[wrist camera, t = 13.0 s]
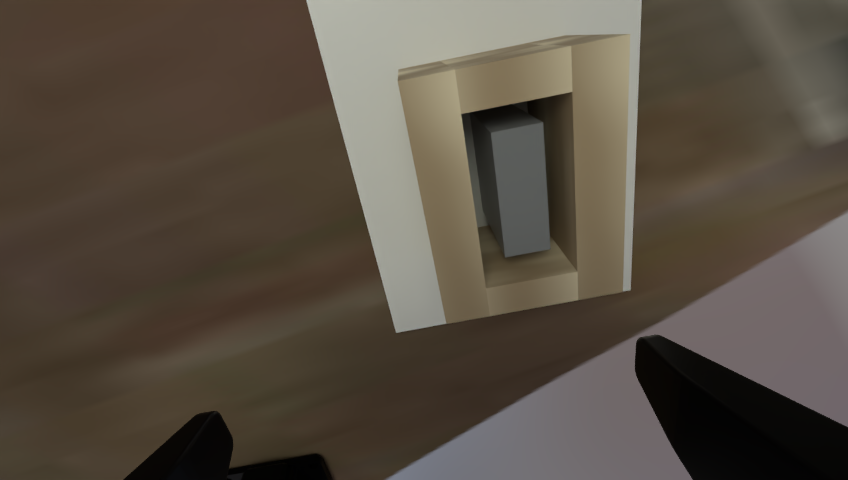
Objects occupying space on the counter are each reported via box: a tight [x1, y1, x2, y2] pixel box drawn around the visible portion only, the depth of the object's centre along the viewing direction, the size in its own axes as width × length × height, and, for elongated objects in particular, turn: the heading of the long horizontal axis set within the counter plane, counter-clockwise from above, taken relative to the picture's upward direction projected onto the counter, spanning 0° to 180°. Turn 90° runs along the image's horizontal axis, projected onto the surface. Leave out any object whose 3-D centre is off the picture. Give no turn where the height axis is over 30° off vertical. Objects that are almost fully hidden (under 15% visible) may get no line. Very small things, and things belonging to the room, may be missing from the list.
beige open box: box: [398, 34, 630, 324], centre depth 15 cm, size 6×8×5 cm
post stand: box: [306, 0, 642, 333], centre depth 16 cm, size 16×12×6 cm
